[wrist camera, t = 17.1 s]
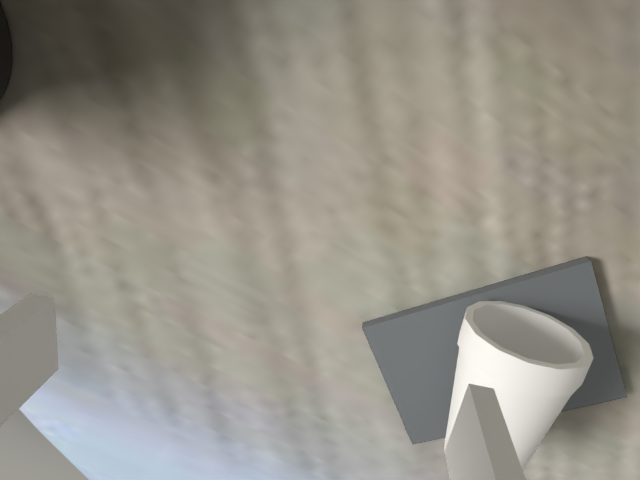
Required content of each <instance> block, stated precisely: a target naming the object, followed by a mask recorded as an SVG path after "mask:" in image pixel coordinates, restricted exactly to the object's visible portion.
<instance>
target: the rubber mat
mask: <svg viewBox="0 0 640 480" xmlns="http://www.w3.org/2000/svg"><path fill="white" fill-rule="evenodd" d="M479 301H503V302H508V303H513V304H518V305H523V306H527V307H529V308H532V309H534V310H537V311H540V312H542V313H545V314H548V315H550V316H552V317H554V318H556V319H557V320H559V321H561V322H562V323H564V324H566V325H568V326H569V327H571V328H573V329H574V330H575V331H576V332H577V333H578V334H579V335H580V336H581V337H582V338H583V339H584V340H586V341H587V342H588V343H589V345H590V348H591V351H592V355H593V361H592V363H591V365H590V367H589V370H588V372H587V374H586V377H585V379H584V381H583V383H582V385H581V386H580V387H579V388H578V389H577V390H576V391H575V392H574V393H573V394H572V395H571V397H570V398H569V400H568V401H567V403H566V404H565V406H564V407H563V409H562V410H561V412H562V411H566V410H571V409H575V408H580V407H584V406H589V405H593V404H598V403H602V402H607V401H611V400H616V399H620V398H625V397H627V395H626V391H625V387H624V383H623V379H622V376H621V372H620V368H619V364H618V360H617V357H616V353H615V349H614V345H613V342H612V338H611V334H610V330H609V326H608V323H607V319H606V315H605V311H604V308H603V304H602V300H601V296H600V292H599V289H598V285H597V281H596V277H595V274H594V270H593V266H592V262H591V260H590V259H589V258H588V257H587V256H586V257H583V258H579V259H576V260H573V261H569V262H566V263H563V264H559V265H556V266H552V267H549V268H546V269H542V270H539V271H536V272H532V273H529V274H525V275H522V276H519V277H515V278H512V279H509V280H505V281H502V282H498V283H495V284H492V285H488V286H485V287H482V288H478V289H475V290H471V291H468V292H465V293H461V294H458V295H455V296H451V297H448V298H444V299H441V300H438V301H434V302H431V303H428V304H424V305H421V306H417V307H414V308H411V309H407V310H404V311H401V312H397V313H394V314H390V315H387V316H384V317H380V318H377V319H374V320H370V321H367V322H363V326H362V329H363V331H364V333H365V336H366V338H367V340H368V343H369V345H370V347H371V349H372V352H373V354H374V356H375V359H376V361H377V363H378V366H379V368H380V370H381V373H382V375H383V377H384V380H385V382H386V384H387V387H388V389H389V391H390V393H391V396H392V398H393V400H394V403H395V405H396V407H397V410H398V412H399V414H400V417H401V419H402V421H403V424H404V426H405V428H406V430H407V433H408V435H409V437H410V440H411V442H412V444H417V443H422V442H426V441H431V440H435V439H440V438H444V437H446V431H447V425H448V418H449V412H450V405H451V399H452V392H453V385H454V379H455V372H456V366H457V359H458V353H459V346H458V344H457V343H458V337H459V332H460V329H461V325H462V322H463V319H464V316H465V312H466V309H467V307H469V306H471V305H473V304H475V303H477V302H479Z"/></svg>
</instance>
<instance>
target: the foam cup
mask: <svg viewBox="0 0 640 480" xmlns="http://www.w3.org/2000/svg"><path fill="white" fill-rule="evenodd" d="M457 344H458V346H459V353H458V359H457V366H456V372H455V379H454V385H453V392H452V399H451V405H450V412H449V418H448V425H447V431H446V438H445V446H444V451H445V449H446V446H447V443H448V440H449V438H450V435H451V432H452V429H453V426H454V423H455V421H456V418H457V415H458V412H459V409H460V406H461V404H462V401H463V398H464V395H465V392H466V390H467V387H468V384H474V385H479V386H484V387H488V388H493V389H494V391H495V394H496V396H497V399H498V402H499V405H500V408H501V411H502V414H503V416H504V419H505V422H506V425H507V428H508V431H509V433H510V436H511V439H512V442H513V445H514V448H515V450H516V453H517V456H518V459H519V462H520V465H521V467H522V470H523V469H524V467H525V466H526V464H527V463H528V461H529V460H530V458H531V457H532V455H533V454H534V452H535V451H536V449H537V447H538V446H539V444H540V443H541V441H542V440H543V438H544V437H545V435H546V434H547V432H548V430H549V429H550V427H551V426H552V424H553V423H554V421H555V420H556V418H557V417H558V415H559V414H560V412H561V410H562V409H563V407H564V406H565V404H566V403H567V401H568V400H569V398H570V397H571V395H572V394H573V393H574V392H575V391H576V390H577V389H578V388H579V387H580V386H581V385H582V383H583V381H584V379H585V377H586V374H587V372H588V370H589V367H590V365H591V363H592V361H593V355H592V351H591V348H590V345H589V343H588V342H587V341H586V340H584V339H583V338H582V337H581V336H580V335H579V334H578V333H577V332H576V331H575V330H574V329H573V328H571V327H569V326H568V325H566V324H564V323H562V322H561V321H559V320H557V319H556V318H554V317H552V316H550V315H548V314H545V313H542V312H540V311H537V310H534V309H532V308H529V307H527V306H523V305H518V304H513V303H508V302H503V301H479V302H477V303H475V304H473V305H471V306H469V307H467V309H466V312H465V316H464V319H463V322H462V325H461V329H460V332H459V337H458V343H457Z"/></svg>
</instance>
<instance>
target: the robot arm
mask: <svg viewBox="0 0 640 480" xmlns="http://www.w3.org/2000/svg"><path fill="white" fill-rule="evenodd" d="M11 61H12V50H11V40H10V34H9V29H8V25H7V22H6V19H5V15H4V13H3V10H2V8H1V5H0V98H1V96H2V95H3V93H4V91H5V88H6V86H7V83H8V80H9V76H10V71H11ZM57 370H58V354H57V335H56V316H55V298H52V297H47V296H42V295H37V294H32V293H31V294H30V295H28V296H27V297H25V298H24V299H22V300H21V301H19V302H18V303H17V304H15V305H14V306H12V307H11V308H9V309H8V310H7V311H5V312H4V313H2V314H1V315H0V426H2V425H3V424H4V422H6V421H7V420H8V419H9V418H10V417H11V416H12V415H13V414H14V413H15V412H16V411H17V410H18V409H19V408H20V407H21V406H22V405H23V404H24V403H25V402H26V401H27V400H28V399H29V398H30V397H31V396H32V395H33V394H34V393H35V392H36V391H37V390H38V389H39V388H40V387H41V386H42V385H43V384H44V383H45V382H46V381H47V380H48V379H49V378H50V377H51V376H52V375H53V374H54V373H55V372H56V371H57ZM445 455H446V461H447V467H448V472H449V478H450V480H526V479H525V476H524V473H523V470H522V467H521V465H520V462H519V459H518V456H517V453H516V450H515V448H514V445H513V442H512V439H511V436H510V433H509V431H508V428H507V425H506V422H505V419H504V416H503V414H502V411H501V408H500V405H499V402H498V399H497V396H496V394H495V391H494V389H493V388H488V387H484V386H479V385H474V384H468V387H467V390H466V392H465V395H464V398H463V401H462V404H461V406H460V409H459V412H458V415H457V418H456V421H455V423H454V426H453V429H452V432H451V435H450V438H449V440H448V443H447V446H446V449H445Z"/></svg>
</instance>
